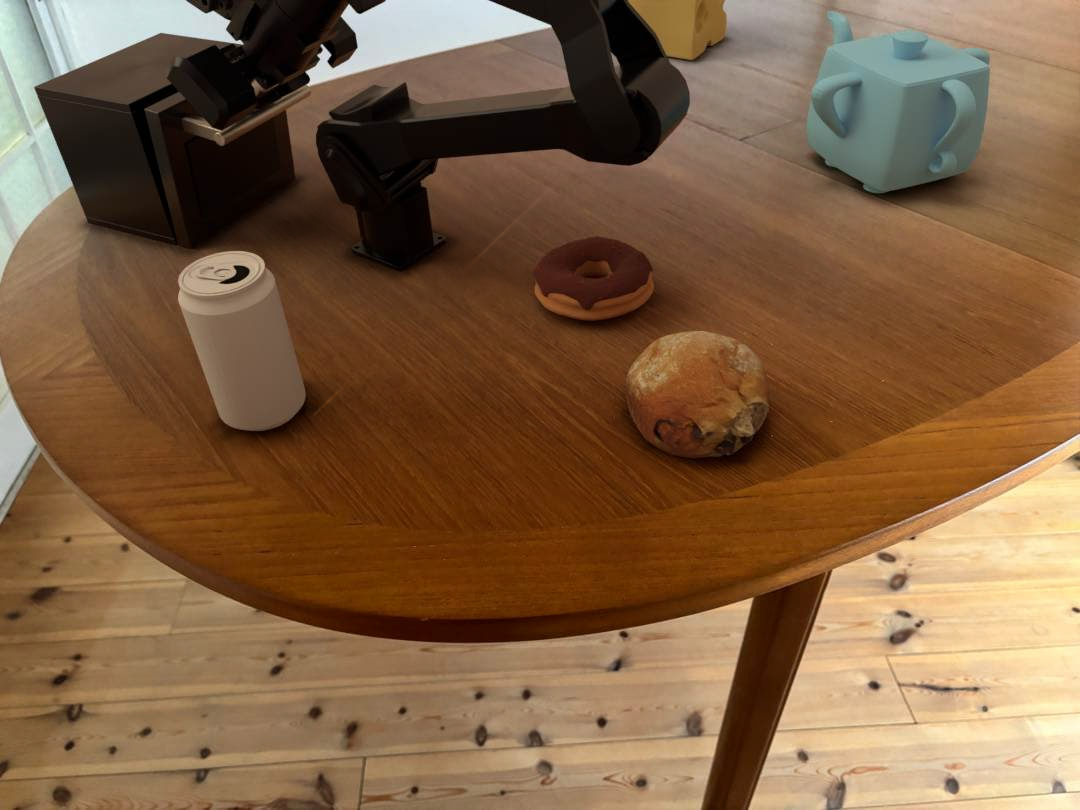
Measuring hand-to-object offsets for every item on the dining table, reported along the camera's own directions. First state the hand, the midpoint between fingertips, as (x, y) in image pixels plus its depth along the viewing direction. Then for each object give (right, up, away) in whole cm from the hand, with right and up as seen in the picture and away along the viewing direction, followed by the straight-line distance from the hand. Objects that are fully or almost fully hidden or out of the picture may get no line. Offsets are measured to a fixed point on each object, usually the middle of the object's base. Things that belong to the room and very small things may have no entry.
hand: (234, 113), depth 85 cm
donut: (+33, -18, -7) cm, 38 cm away
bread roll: (+40, -28, -20) cm, 53 cm away
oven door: (0, -8, +7) cm, 11 cm away
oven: (-8, -6, +10) cm, 15 cm away
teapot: (+63, -2, +10) cm, 64 cm away
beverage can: (+8, -28, -17) cm, 33 cm away
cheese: (+47, +22, +40) cm, 66 cm away
